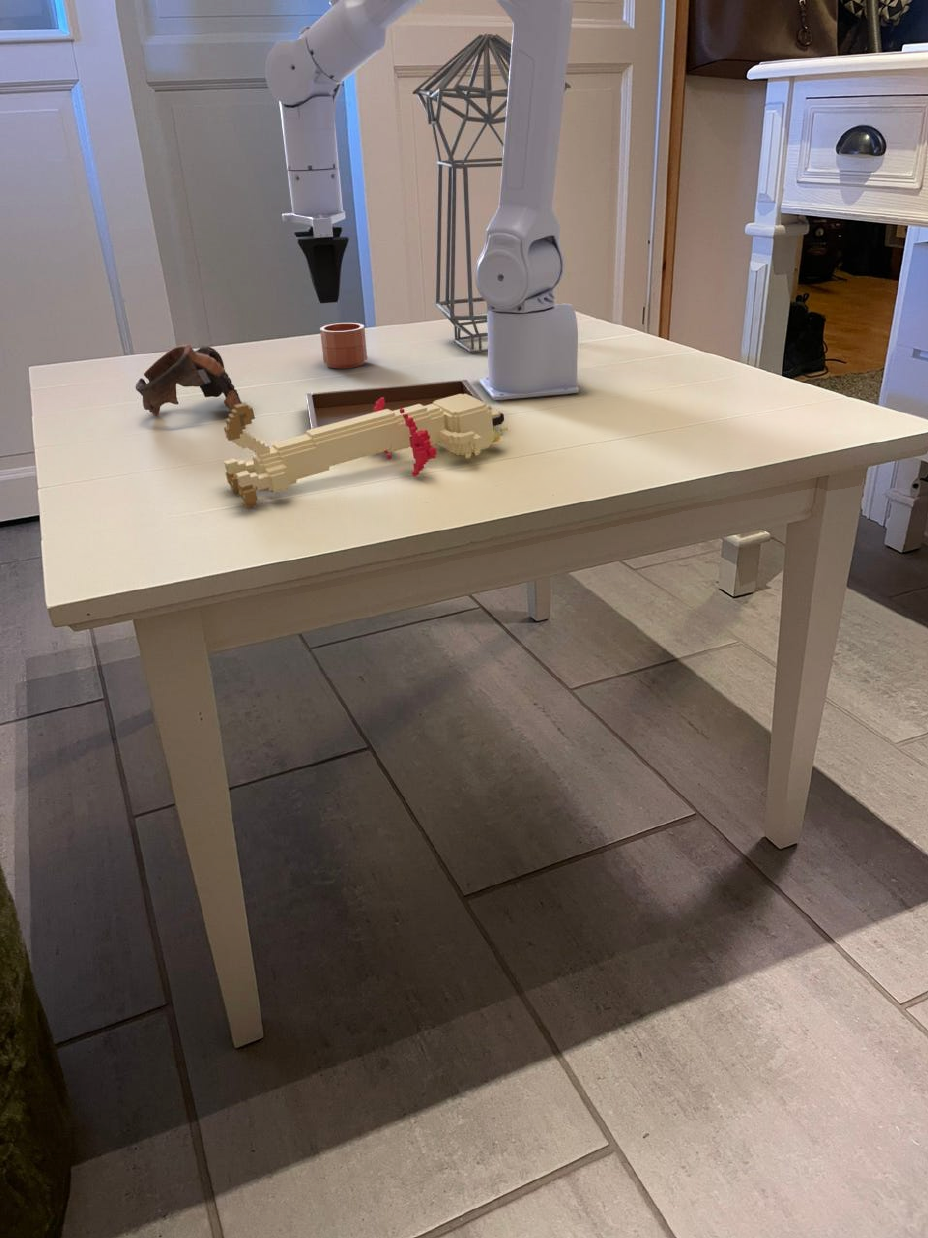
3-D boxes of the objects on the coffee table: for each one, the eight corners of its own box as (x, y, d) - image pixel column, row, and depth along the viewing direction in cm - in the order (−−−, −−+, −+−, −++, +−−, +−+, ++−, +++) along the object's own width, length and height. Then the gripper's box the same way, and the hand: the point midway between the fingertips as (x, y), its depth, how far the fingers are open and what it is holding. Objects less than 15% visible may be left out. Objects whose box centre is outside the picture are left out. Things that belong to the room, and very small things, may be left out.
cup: (365, 357, 120) (361, 321, 118) (369, 367, 116) (366, 329, 113) (322, 360, 120) (318, 324, 117) (325, 370, 115) (321, 333, 113)
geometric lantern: (423, 338, 129) (406, 40, 112) (531, 327, 132) (531, 36, 116) (451, 363, 116) (436, 29, 99) (571, 351, 119) (576, 26, 102)
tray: (467, 397, 102) (466, 379, 101) (493, 433, 90) (493, 412, 89) (308, 412, 99) (305, 393, 98) (314, 450, 88) (311, 429, 87)
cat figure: (259, 533, 74) (531, 450, 82) (233, 426, 69) (523, 351, 78) (226, 494, 82) (477, 423, 90) (201, 396, 77) (467, 331, 86)
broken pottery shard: (238, 431, 96) (184, 366, 91) (170, 467, 99) (114, 407, 94) (263, 372, 104) (215, 310, 100) (199, 407, 108) (150, 349, 103)
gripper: (275, 167, 110) (290, 289, 116) (278, 174, 97) (294, 310, 104) (335, 164, 111) (346, 285, 117) (346, 170, 98) (358, 305, 105)
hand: (326, 296), depth 110 cm, fingers open, 7 cm apart
